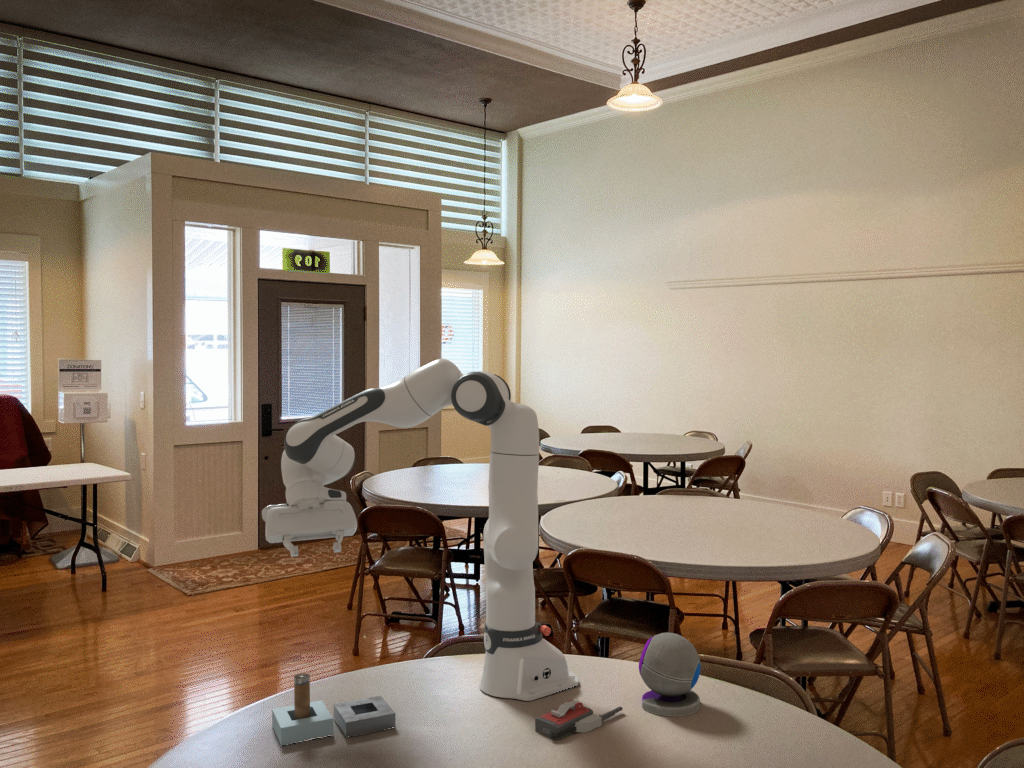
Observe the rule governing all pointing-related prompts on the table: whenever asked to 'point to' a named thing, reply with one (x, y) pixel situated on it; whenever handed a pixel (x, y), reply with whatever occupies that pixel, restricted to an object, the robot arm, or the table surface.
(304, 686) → the peg
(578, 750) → the table surface
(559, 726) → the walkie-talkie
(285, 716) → the block
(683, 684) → the webcam
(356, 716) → the socket block
